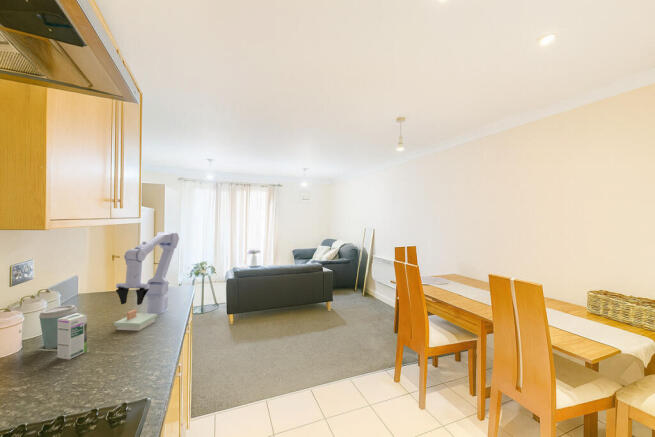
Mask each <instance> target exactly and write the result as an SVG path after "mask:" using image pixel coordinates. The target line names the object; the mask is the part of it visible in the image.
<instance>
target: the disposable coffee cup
mask: <svg viewBox="0 0 655 437" xmlns="http://www.w3.org/2000/svg"><path fill="white" fill-rule="evenodd" d="M75 313H78V308H77V307H76V305H74V304H69V305H61V306H55V307H51V308H47V309H44V310H42V311H41V312H40V313H39V316H38V318H39V321H40V328H41V334H42V341H43V347H44V348H45V350H51V349H56V348H57V349H58V319H59V318H63V317H66V316H69V315H72V314H75Z"/></svg>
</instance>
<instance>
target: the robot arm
mask: <svg viewBox="0 0 655 437" xmlns="http://www.w3.org/2000/svg"><path fill="white" fill-rule="evenodd" d="M179 237H180V236H179V234H178V232H177V231H174V232H170V231H158V232H157V233H156V234H155V236H154V237H153V238H152V239H151V240H149V241H142V243H140V244H139V245H137V246H135V247H134V248H130V249H128V250H127V251H126V252H125V253H124V255H123V256H124V257H123V259H124V260H125V265H126V270H125V282H123V283H122V282H121V283H116V284H115V286H116V287H115V289H116V290H115V292H116V294H117V295H118V297H119V301H120V305H125V304H127V301H128V300H127V299H128V294H129V291H130V289H136V290H135V293H136V297H137V298H136V304H137V306H140V305H142V304H143V301H144V300H145V299H144V298H145V297H146V298H147V310H146V311H145V313H148V314H157V316H159V315H160V314H162V313H164V312H166V311H167V310H169V309H170V308H169V307H168V302H169V301H168V299H169V298H168V296H167V294H168V291H169V284H170V282H169V281H168V280H167V279H166V276H167V275H168V274H167V273H168V270H169V268H170V264H171V261H172V259H173V255H174V253H175V250H176V249H177V246H178V244H179V240H180V238H179ZM156 246H159V247H160V248H161V249H162V253H161V256H160V259H159V261H158V263H157V267H156V270H155V273H154V275H153V277H152V278H150V279H149V280H148V281H147V283H143V282H142V269H143V268H142V267H143V261H145V259H146V257H147V255H149V254H150V253H151V252H152V251H154V248H155V247H156Z"/></svg>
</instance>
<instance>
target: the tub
mask: <svg viewBox="0 0 655 437" xmlns="http://www.w3.org/2000/svg"><path fill="white" fill-rule="evenodd" d="M155 321H156V318H155V319H153V320H151V321H149V322H148V323H146V324H144V325H142V326H141V327H125V326H116V328H117V331H137V332H138V331H141V330H142V329H144V328H146V327H148V326H150V325H152V324H153V323H155Z"/></svg>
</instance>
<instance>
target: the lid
mask: <svg viewBox="0 0 655 437" xmlns="http://www.w3.org/2000/svg"><path fill="white" fill-rule="evenodd" d="M137 310H138V309H137V308H136V309H132V310H131V309H130V310H129V311H127V312H126V317H124V318H123V317H122V318H121V319H119V320H117V321H115V322H114V327H117V326H125V327H141V326H142V325H144V324H146V323H148V322H149V321H151V320H153V319H155V320H156V319H157V318H158V315H157V314H148V313H146V312H143V313H142V312H141V313H140V312H137Z"/></svg>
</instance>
